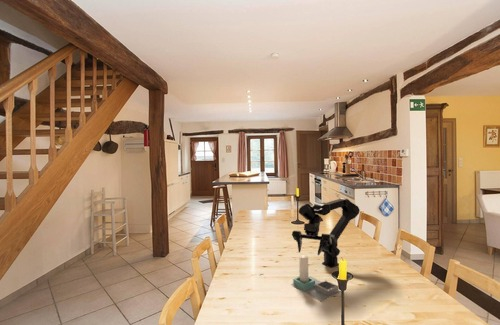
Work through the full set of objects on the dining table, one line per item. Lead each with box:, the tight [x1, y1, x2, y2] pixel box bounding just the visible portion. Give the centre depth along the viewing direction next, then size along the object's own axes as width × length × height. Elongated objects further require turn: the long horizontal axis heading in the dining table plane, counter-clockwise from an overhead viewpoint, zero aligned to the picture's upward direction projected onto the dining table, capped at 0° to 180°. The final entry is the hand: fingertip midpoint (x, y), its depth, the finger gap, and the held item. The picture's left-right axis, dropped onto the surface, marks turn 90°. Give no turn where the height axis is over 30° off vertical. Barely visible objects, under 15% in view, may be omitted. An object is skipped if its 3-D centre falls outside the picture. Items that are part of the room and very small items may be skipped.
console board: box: [290, 276, 342, 303], centre depth 118 cm, size 18×13×1 cm
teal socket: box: [292, 276, 315, 290], centre depth 120 cm, size 7×7×2 cm
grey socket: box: [315, 279, 339, 297], centre depth 115 cm, size 7×7×2 cm
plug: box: [298, 254, 310, 284], centre depth 120 cm, size 4×4×13 cm
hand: (308, 253), depth 126 cm, fingers open, 9 cm apart
